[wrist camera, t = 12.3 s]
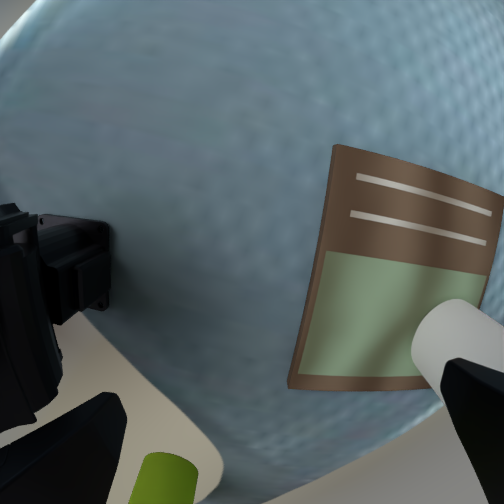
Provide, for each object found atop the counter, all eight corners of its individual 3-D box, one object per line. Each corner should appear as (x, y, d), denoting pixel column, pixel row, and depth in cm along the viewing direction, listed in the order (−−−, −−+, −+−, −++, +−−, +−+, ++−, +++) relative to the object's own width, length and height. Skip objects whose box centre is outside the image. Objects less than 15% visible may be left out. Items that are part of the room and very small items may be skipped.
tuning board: (286, 380, 22) (288, 389, 21) (332, 145, 18) (337, 143, 17) (442, 380, 22) (447, 387, 21) (497, 196, 18) (505, 197, 17)
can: (434, 285, 19) (551, 370, 7) (483, 308, 19) (579, 379, 7) (393, 361, 20) (468, 477, 8) (446, 374, 21) (518, 464, 9)
